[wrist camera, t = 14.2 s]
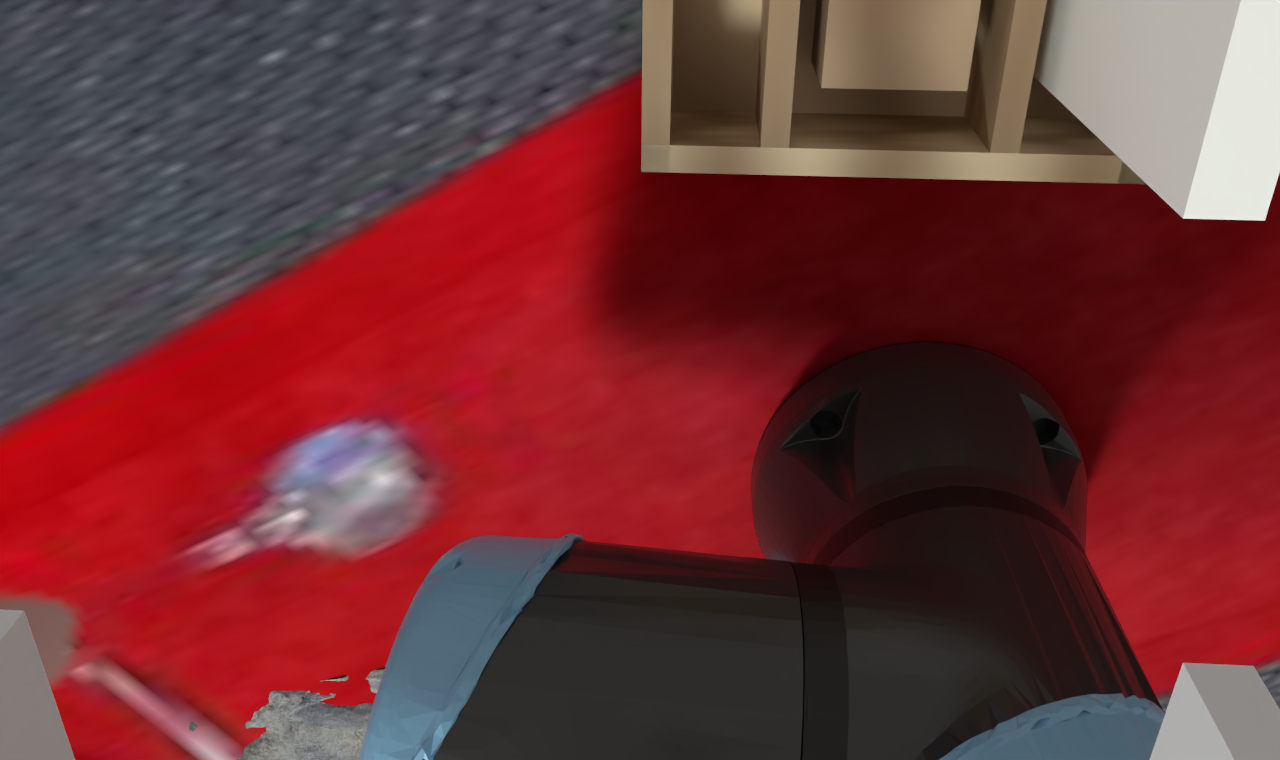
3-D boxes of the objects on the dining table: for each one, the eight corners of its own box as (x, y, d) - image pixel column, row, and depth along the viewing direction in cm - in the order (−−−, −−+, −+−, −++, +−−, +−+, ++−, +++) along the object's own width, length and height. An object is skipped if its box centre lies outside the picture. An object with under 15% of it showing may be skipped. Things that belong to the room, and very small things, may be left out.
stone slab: (444, 658, 58) (513, 792, 62) (452, 636, 60) (519, 767, 64) (156, 719, 62) (238, 841, 66) (171, 697, 64) (251, 817, 68)
